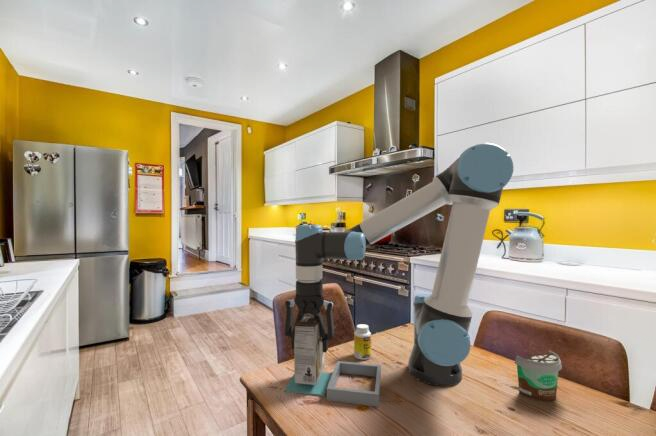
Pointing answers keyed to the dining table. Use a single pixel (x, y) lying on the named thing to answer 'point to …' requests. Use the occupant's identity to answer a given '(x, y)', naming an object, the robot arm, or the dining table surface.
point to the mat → (310, 386)
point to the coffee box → (307, 350)
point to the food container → (538, 376)
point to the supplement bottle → (362, 342)
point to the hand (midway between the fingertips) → (309, 361)
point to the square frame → (352, 394)
